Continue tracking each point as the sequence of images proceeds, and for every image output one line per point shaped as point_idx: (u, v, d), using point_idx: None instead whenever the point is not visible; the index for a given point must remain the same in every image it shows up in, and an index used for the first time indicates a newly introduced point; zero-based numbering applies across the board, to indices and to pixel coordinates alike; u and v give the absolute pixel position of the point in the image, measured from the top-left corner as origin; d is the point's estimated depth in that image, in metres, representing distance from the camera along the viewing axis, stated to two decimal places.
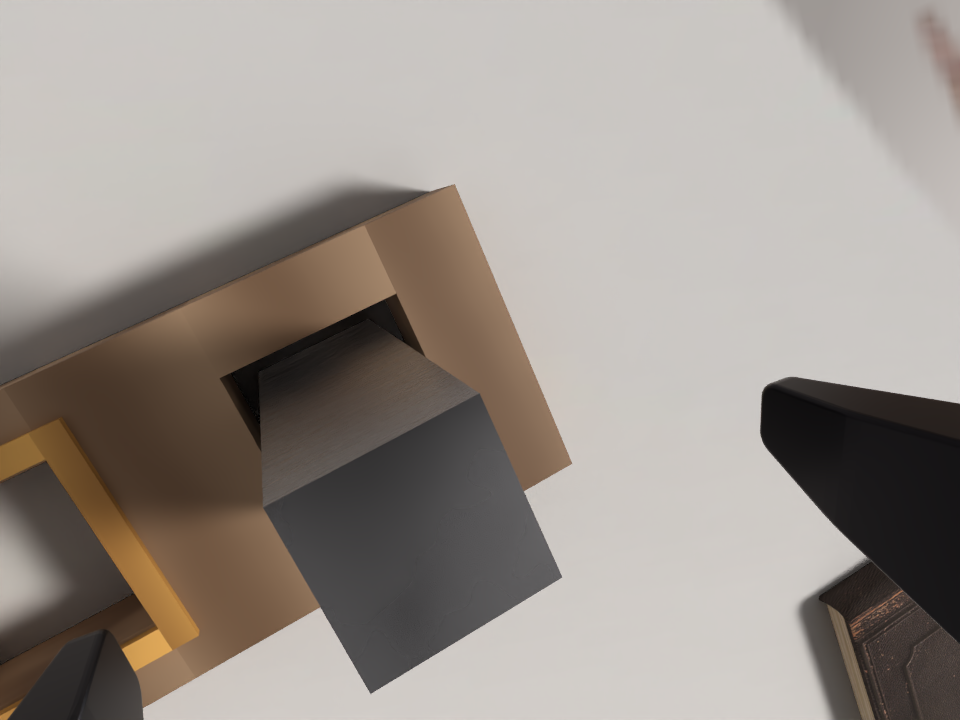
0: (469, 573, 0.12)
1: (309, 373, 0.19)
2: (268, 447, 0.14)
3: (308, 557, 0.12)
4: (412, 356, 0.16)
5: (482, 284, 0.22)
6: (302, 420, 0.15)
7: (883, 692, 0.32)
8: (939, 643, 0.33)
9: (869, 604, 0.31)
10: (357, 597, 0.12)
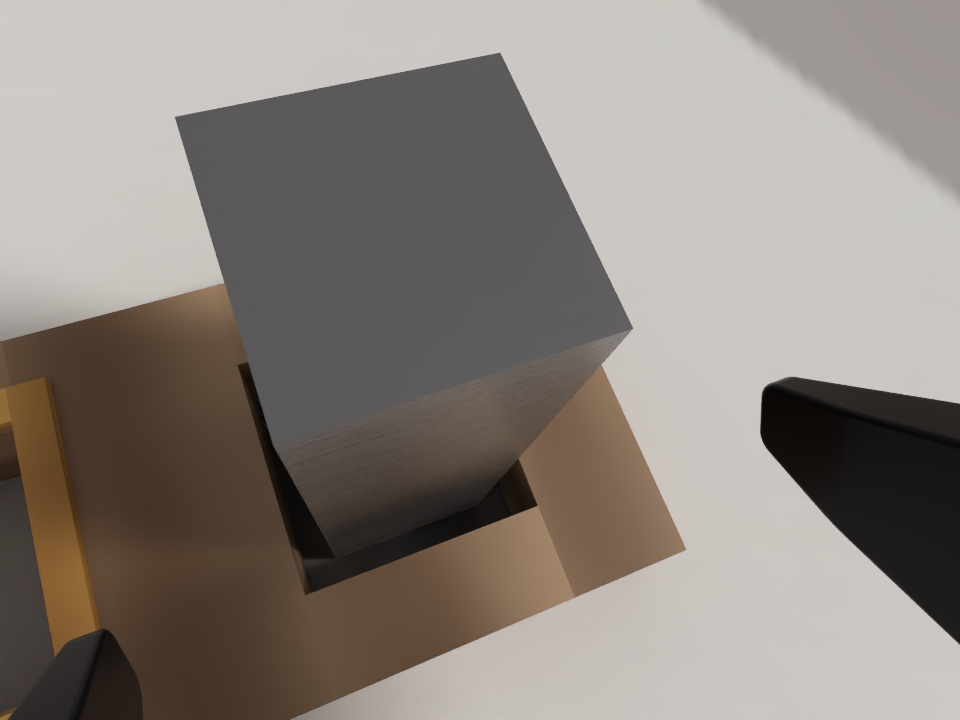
0: (471, 282, 0.08)
1: None
2: None
3: (221, 196, 0.08)
4: None
5: None
6: None
7: None
8: None
9: None
10: (284, 272, 0.07)
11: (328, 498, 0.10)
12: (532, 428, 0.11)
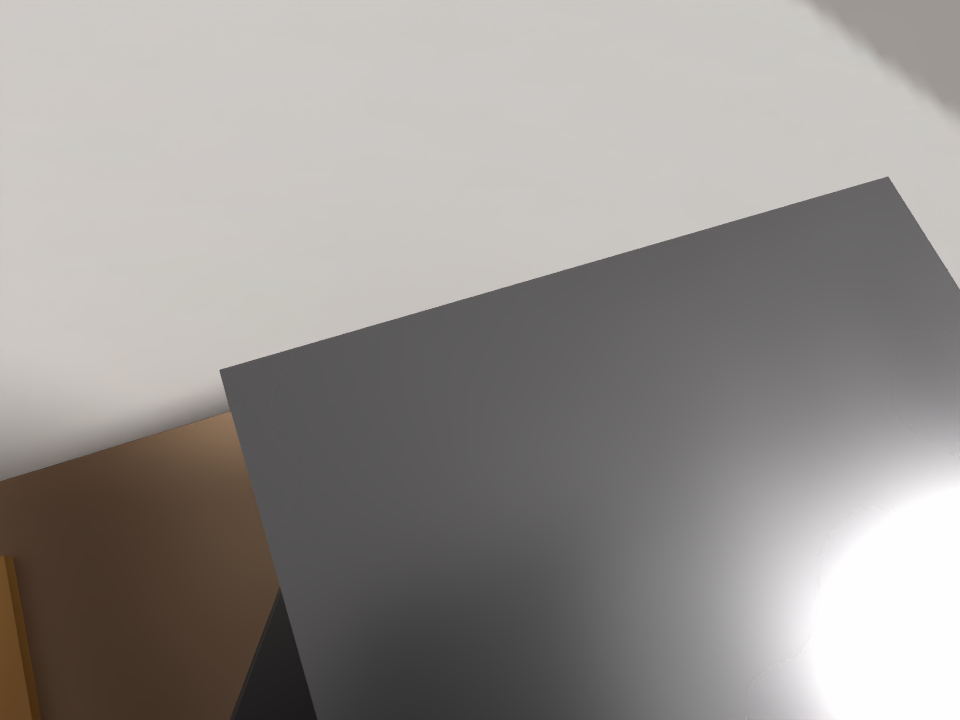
0: None
1: None
2: None
3: (340, 594, 0.03)
4: None
5: None
6: None
7: None
8: None
9: None
10: None
11: None
12: None
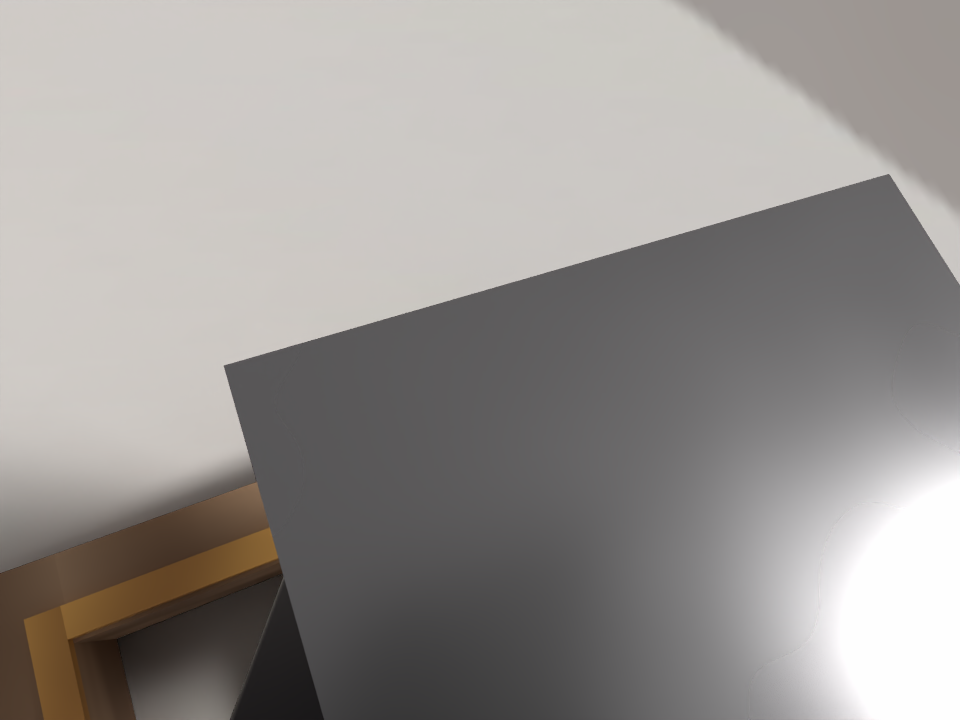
0: None
1: None
2: None
3: (344, 589, 0.03)
4: None
5: None
6: None
7: None
8: None
9: None
10: None
11: None
12: None
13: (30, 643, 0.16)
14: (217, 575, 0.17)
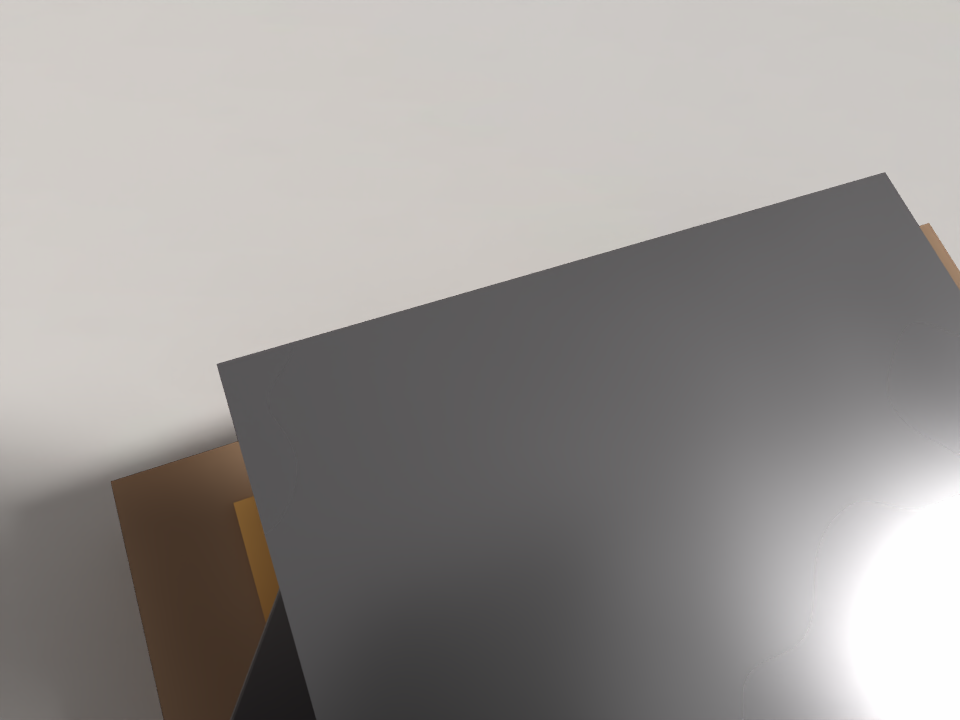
0: None
1: None
2: None
3: (337, 587, 0.03)
4: None
5: None
6: None
7: None
8: None
9: None
10: None
11: None
12: None
13: (243, 529, 0.14)
14: None
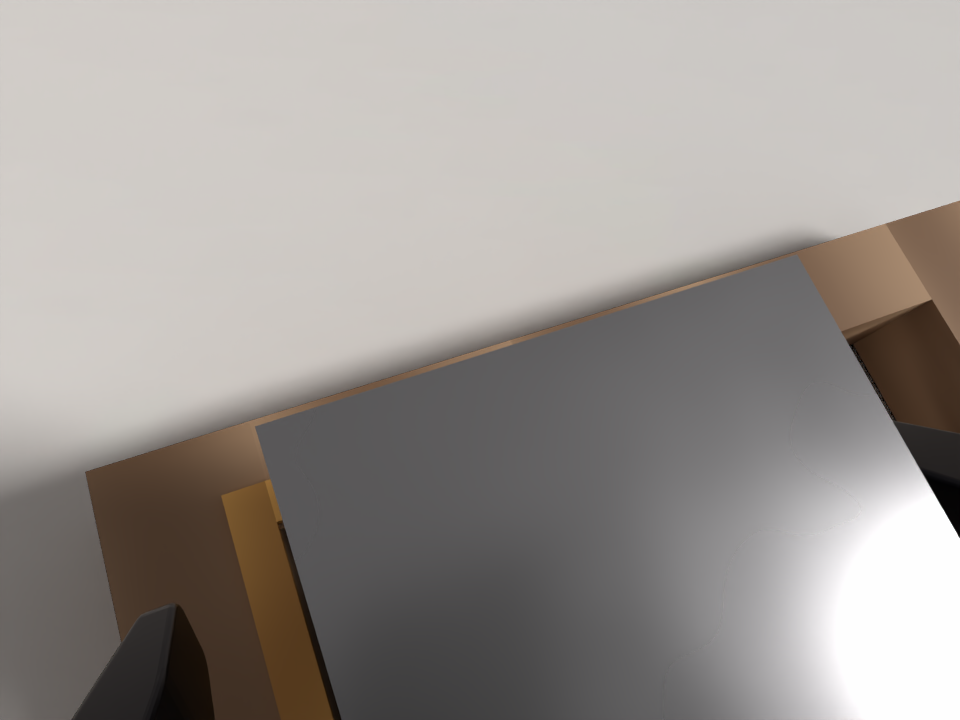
0: None
1: None
2: None
3: (351, 602, 0.04)
4: None
5: None
6: None
7: None
8: None
9: None
10: None
11: None
12: None
13: (231, 524, 0.13)
14: None
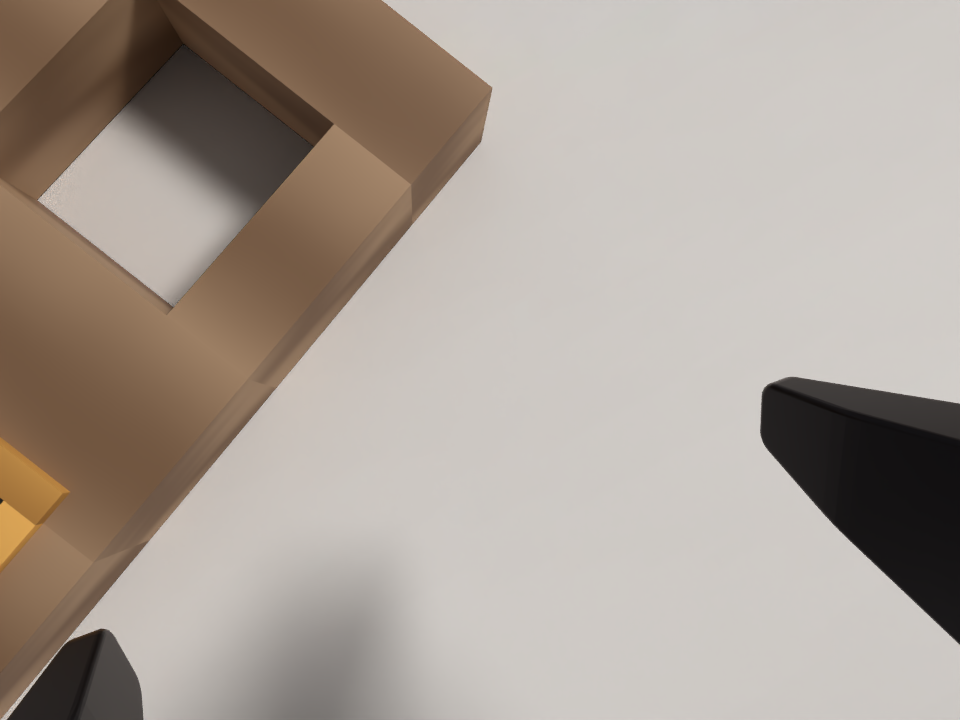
0: None
1: None
2: None
3: None
4: None
5: None
6: None
7: None
8: None
9: None
10: None
11: None
12: None
13: None
14: None
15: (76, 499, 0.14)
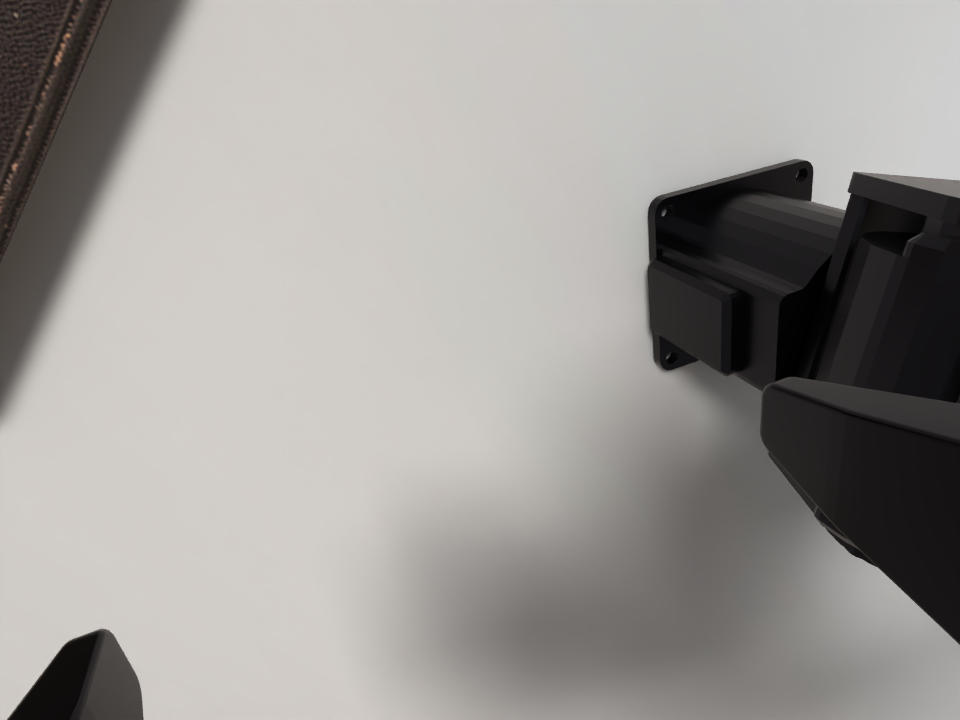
0: None
1: None
2: None
3: None
4: None
5: None
6: None
7: None
8: None
9: None
10: None
11: None
12: None
13: None
14: None
15: None
